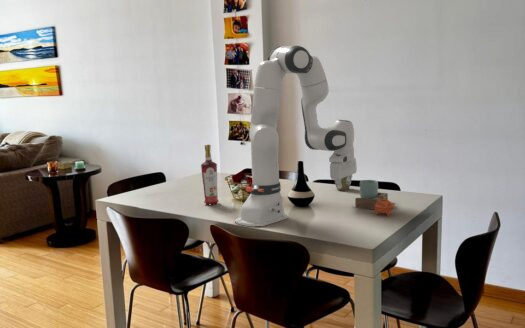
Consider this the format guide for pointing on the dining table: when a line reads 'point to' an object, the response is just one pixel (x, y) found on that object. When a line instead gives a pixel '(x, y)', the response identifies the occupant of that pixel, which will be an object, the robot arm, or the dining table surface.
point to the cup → (368, 189)
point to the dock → (370, 201)
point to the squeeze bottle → (343, 184)
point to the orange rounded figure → (383, 207)
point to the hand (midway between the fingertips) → (344, 186)
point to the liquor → (209, 178)
